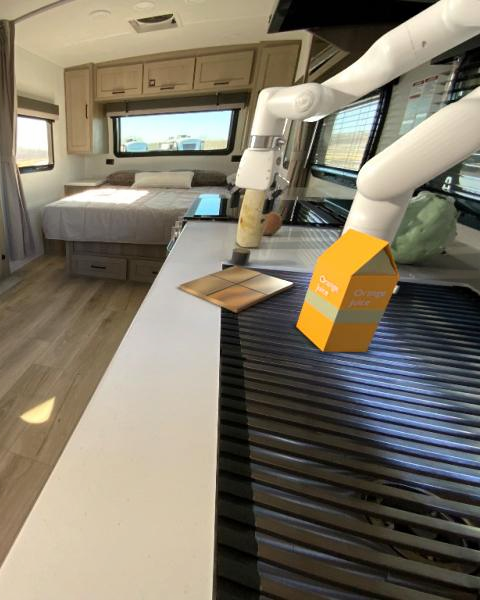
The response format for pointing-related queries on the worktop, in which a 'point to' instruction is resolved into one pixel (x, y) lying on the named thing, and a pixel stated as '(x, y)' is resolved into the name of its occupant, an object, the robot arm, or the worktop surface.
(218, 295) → the grid board
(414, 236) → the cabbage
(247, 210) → the food model
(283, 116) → the robot arm
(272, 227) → the onion
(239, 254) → the black ridged cylinder
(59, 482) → the worktop surface
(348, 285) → the orange juice
